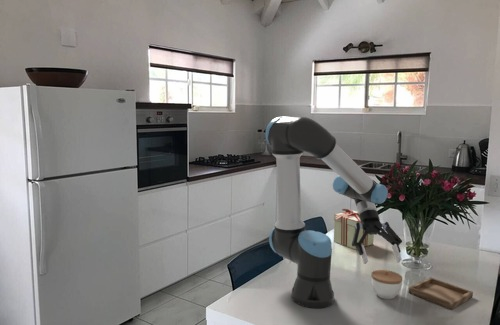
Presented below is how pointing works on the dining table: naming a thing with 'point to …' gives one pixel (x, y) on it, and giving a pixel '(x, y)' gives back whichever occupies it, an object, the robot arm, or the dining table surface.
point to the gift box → (349, 229)
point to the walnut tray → (441, 293)
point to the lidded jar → (386, 283)
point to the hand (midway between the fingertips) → (382, 261)
